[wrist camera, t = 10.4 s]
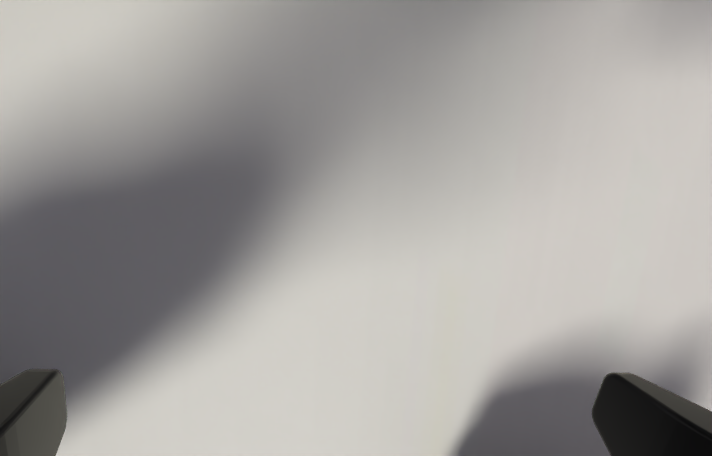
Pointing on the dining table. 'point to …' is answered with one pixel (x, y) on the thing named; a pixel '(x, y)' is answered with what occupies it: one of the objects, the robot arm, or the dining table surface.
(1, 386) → the robot arm
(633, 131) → the dining table surface
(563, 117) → the dining table surface
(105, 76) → the dining table surface
